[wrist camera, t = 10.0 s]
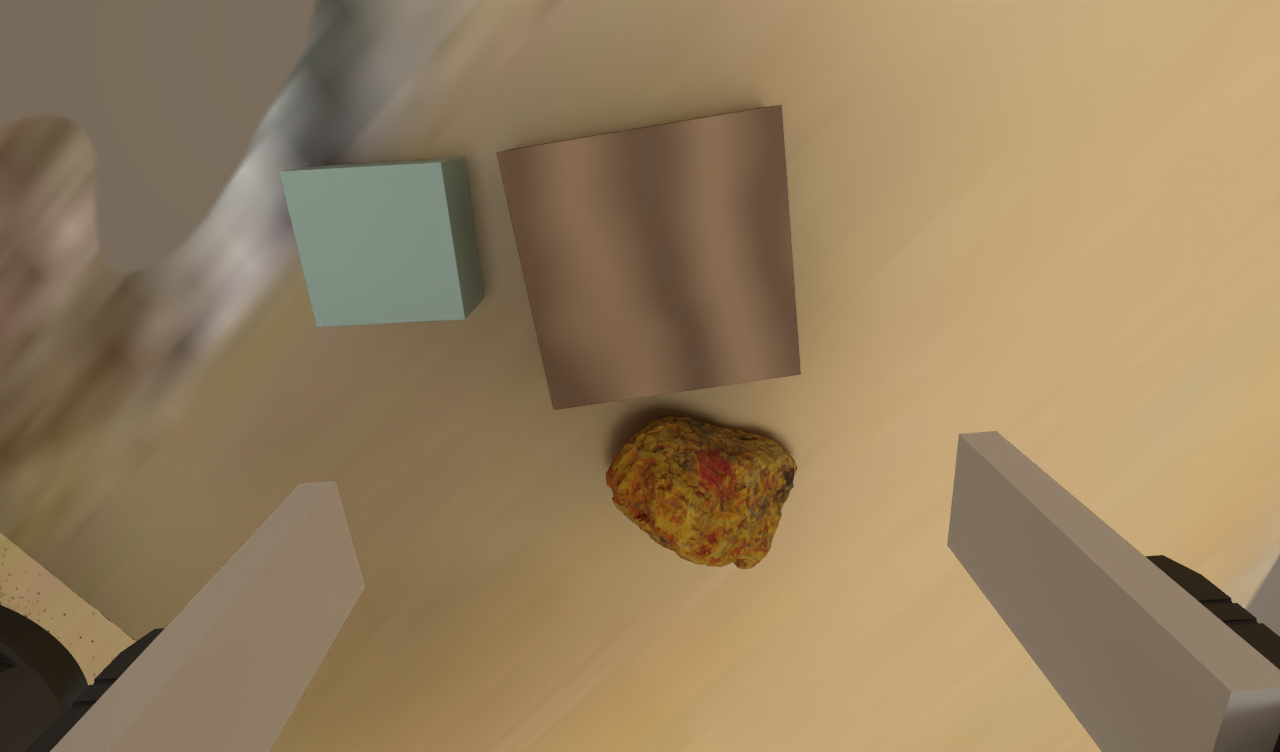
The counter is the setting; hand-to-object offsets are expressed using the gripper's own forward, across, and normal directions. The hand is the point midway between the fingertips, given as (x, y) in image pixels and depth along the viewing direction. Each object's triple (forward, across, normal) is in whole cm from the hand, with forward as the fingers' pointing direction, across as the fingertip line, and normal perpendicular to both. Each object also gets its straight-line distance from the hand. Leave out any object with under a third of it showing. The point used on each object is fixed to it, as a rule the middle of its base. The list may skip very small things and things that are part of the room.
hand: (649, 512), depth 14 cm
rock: (+27, -1, -12) cm, 29 cm away
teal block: (+27, -13, +3) cm, 30 cm away
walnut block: (+27, +1, +1) cm, 27 cm away
